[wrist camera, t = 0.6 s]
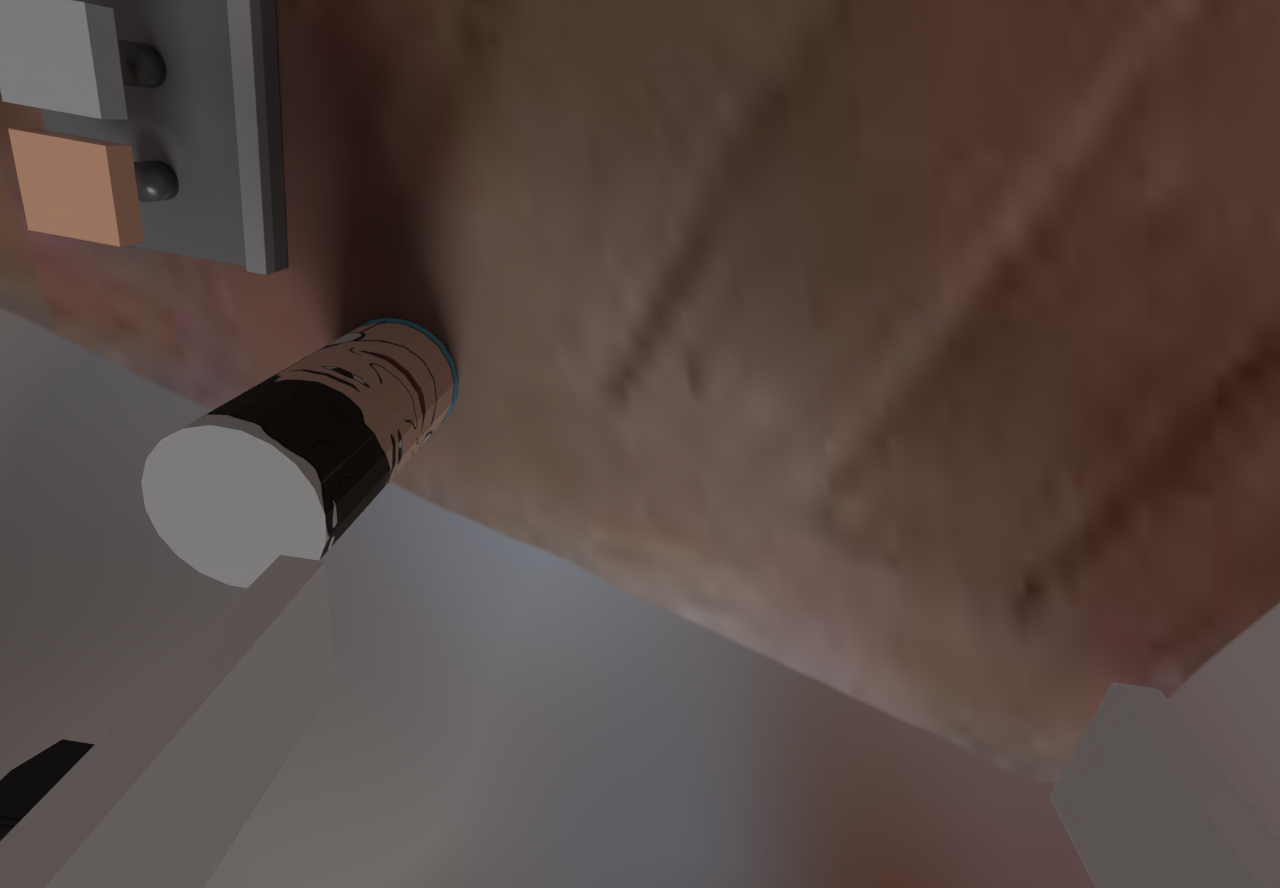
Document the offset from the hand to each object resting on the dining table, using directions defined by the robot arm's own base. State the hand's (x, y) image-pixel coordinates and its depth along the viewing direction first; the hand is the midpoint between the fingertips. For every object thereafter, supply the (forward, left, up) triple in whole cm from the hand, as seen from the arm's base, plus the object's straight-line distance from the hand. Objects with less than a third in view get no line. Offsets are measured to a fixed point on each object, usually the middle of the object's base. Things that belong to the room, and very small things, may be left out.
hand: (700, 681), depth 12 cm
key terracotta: (-2, -27, -21) cm, 34 cm away
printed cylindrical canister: (+7, -16, -27) cm, 31 cm away
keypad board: (-7, -27, -26) cm, 38 cm away
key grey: (-7, -27, -21) cm, 35 cm away
